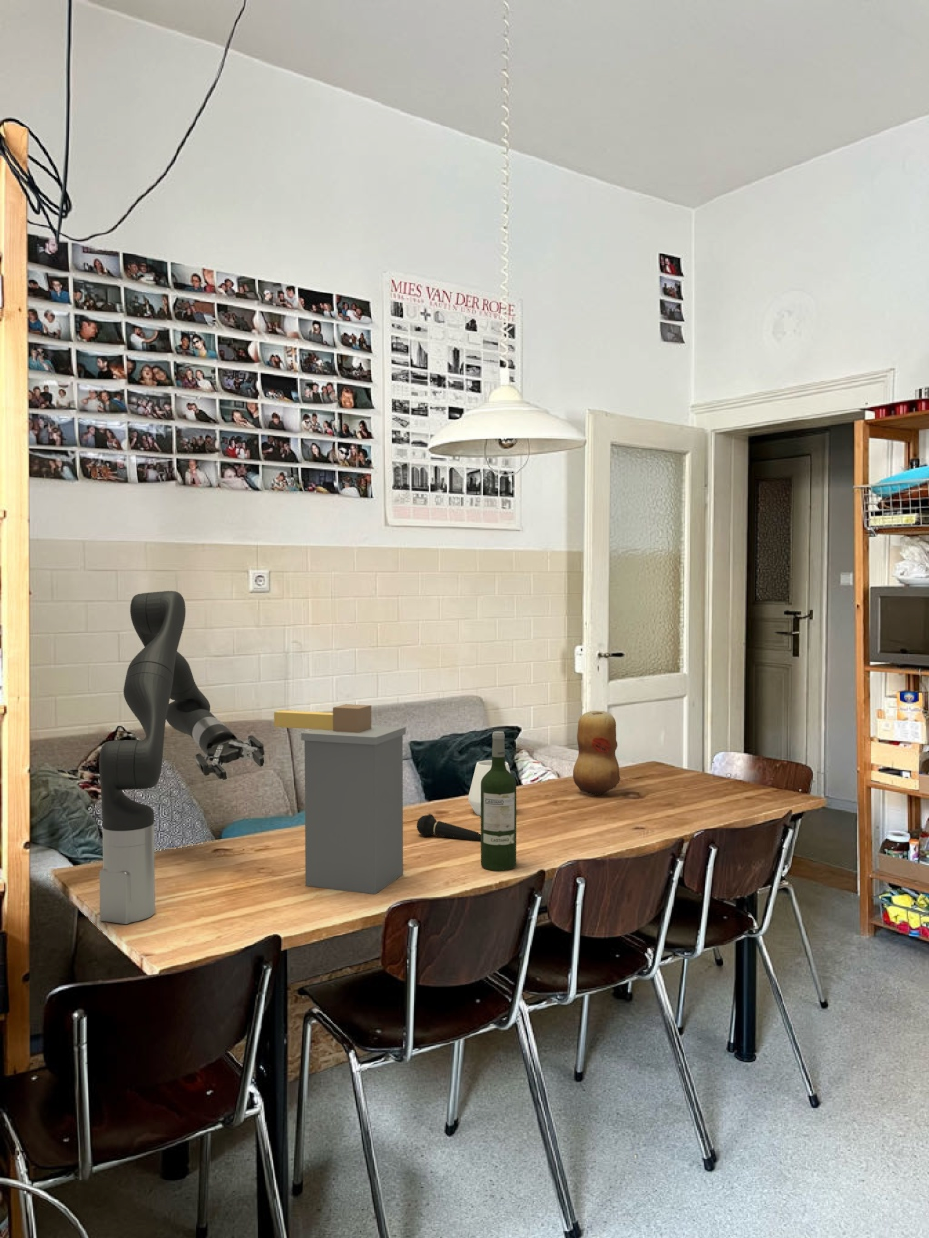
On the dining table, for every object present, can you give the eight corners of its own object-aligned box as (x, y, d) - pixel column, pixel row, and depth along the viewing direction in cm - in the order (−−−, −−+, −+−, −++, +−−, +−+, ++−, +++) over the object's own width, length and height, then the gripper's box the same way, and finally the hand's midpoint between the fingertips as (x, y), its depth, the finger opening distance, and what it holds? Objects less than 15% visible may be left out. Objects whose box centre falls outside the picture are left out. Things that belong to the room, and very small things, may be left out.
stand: (302, 886, 197) (301, 733, 196) (336, 866, 211) (335, 723, 210) (376, 895, 191) (375, 737, 190) (406, 874, 205) (405, 727, 204)
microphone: (493, 852, 233) (418, 835, 240) (497, 829, 234) (424, 812, 241) (486, 851, 228) (411, 834, 235) (491, 827, 229) (416, 810, 236)
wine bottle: (486, 872, 206) (486, 735, 205) (476, 862, 214) (476, 730, 213) (521, 869, 208) (521, 734, 207) (509, 859, 216) (509, 728, 215)
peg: (270, 727, 203) (270, 704, 203) (285, 723, 209) (285, 701, 209) (358, 732, 196) (358, 708, 196) (371, 728, 202) (371, 705, 202)
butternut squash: (578, 799, 277) (578, 714, 276) (569, 790, 291) (569, 708, 290) (624, 798, 278) (624, 714, 278) (613, 789, 292) (614, 708, 291)
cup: (461, 817, 256) (461, 765, 256) (475, 806, 269) (475, 757, 269) (509, 820, 253) (510, 768, 252) (521, 809, 265) (521, 759, 265)
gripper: (182, 734, 212) (210, 765, 200) (241, 714, 220) (271, 743, 208) (186, 762, 215) (214, 795, 203) (245, 742, 223) (275, 772, 211)
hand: (243, 769), depth 205 cm, fingers open, 8 cm apart
